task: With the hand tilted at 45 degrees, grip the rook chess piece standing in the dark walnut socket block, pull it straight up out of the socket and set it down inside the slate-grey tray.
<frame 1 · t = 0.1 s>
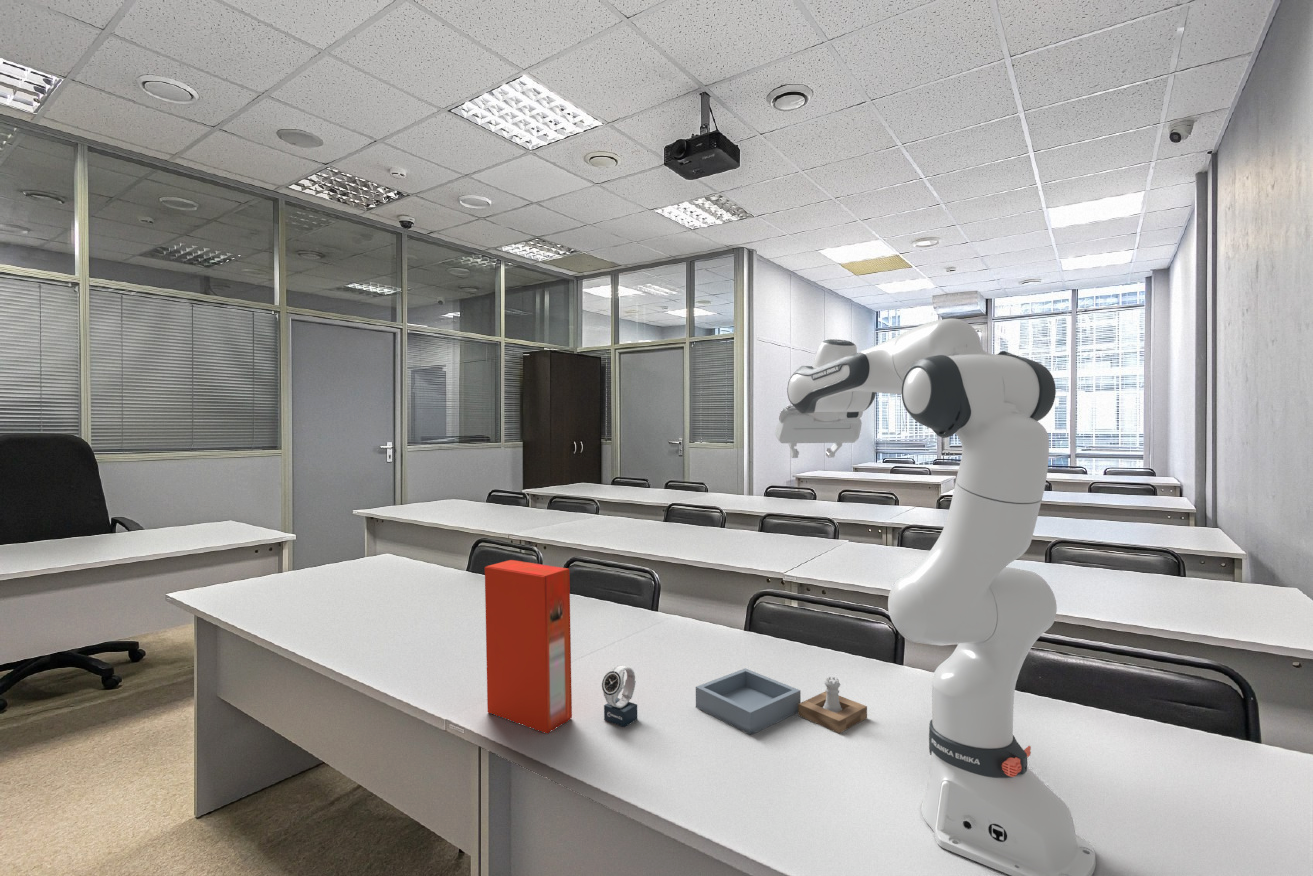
hand: (811, 456, 147), 54 cm above the table, tool tilted 30°, fingers open, 8 cm apart
socket block: (832, 716, 128), on the table
watch: (620, 720, 127), on the table
tray: (747, 709, 132), on the table
file binder: (528, 717, 129), on the table
rook chess piece: (832, 717, 128), resting in socket block
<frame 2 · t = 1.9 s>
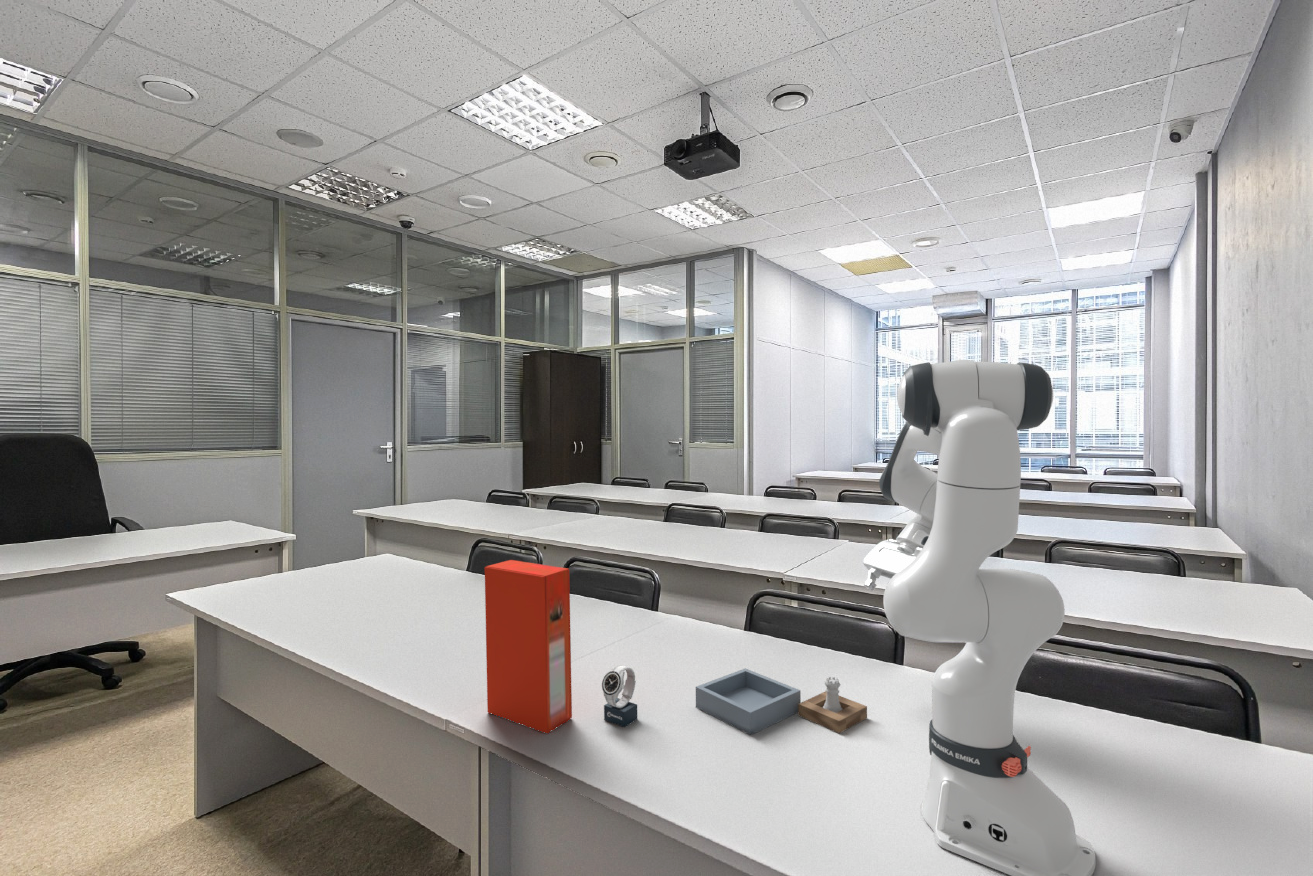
hand: (881, 593, 131), 25 cm above the table, tool tilted 45°, fingers open, 8 cm apart
nothing on the table moved.
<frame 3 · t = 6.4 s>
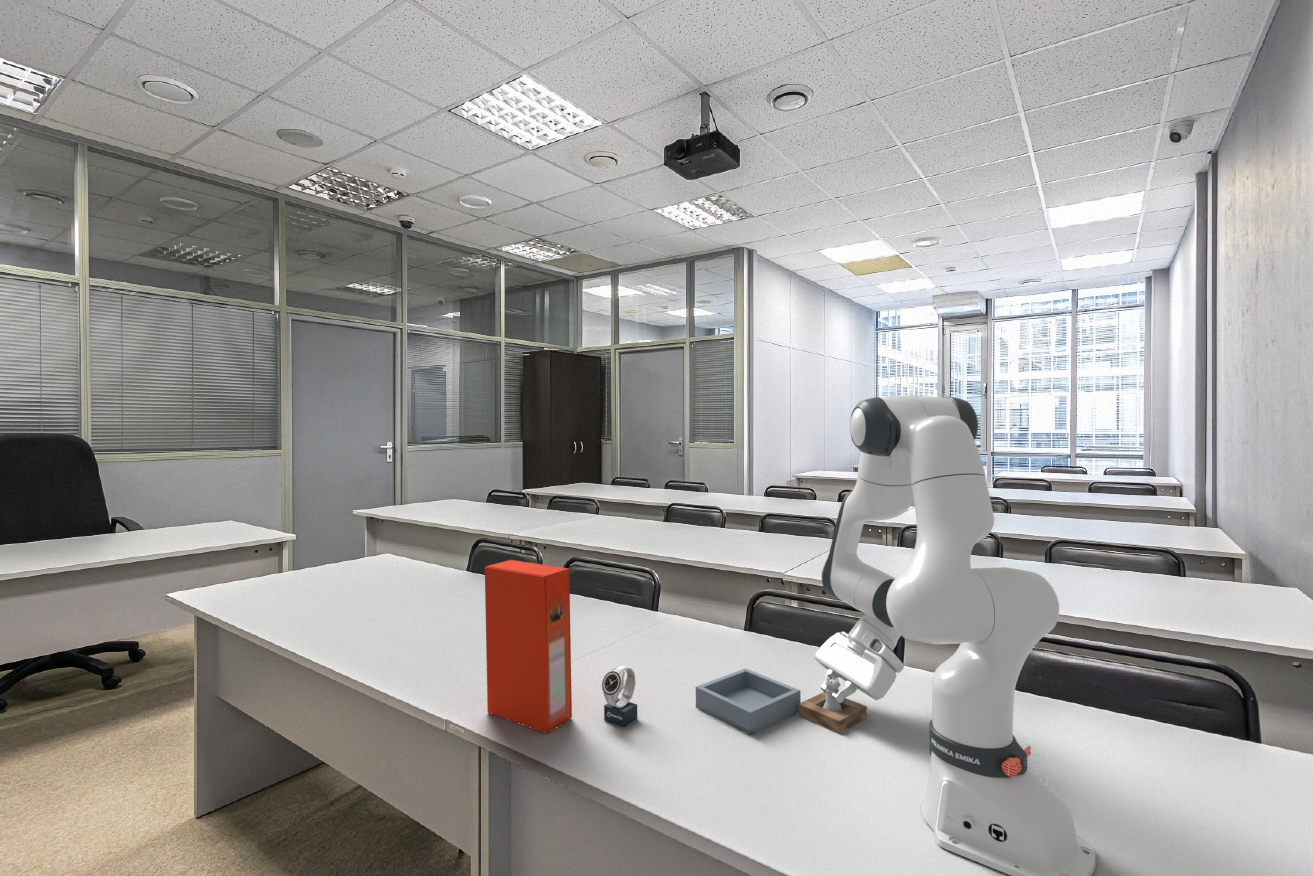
hand: (829, 695, 127), 5 cm above the table, tool tilted 45°, fingers closed on rook chess piece, 3 cm apart
rook chess piece: (832, 717, 128), resting in socket block, touching gripper
everything else where it was.
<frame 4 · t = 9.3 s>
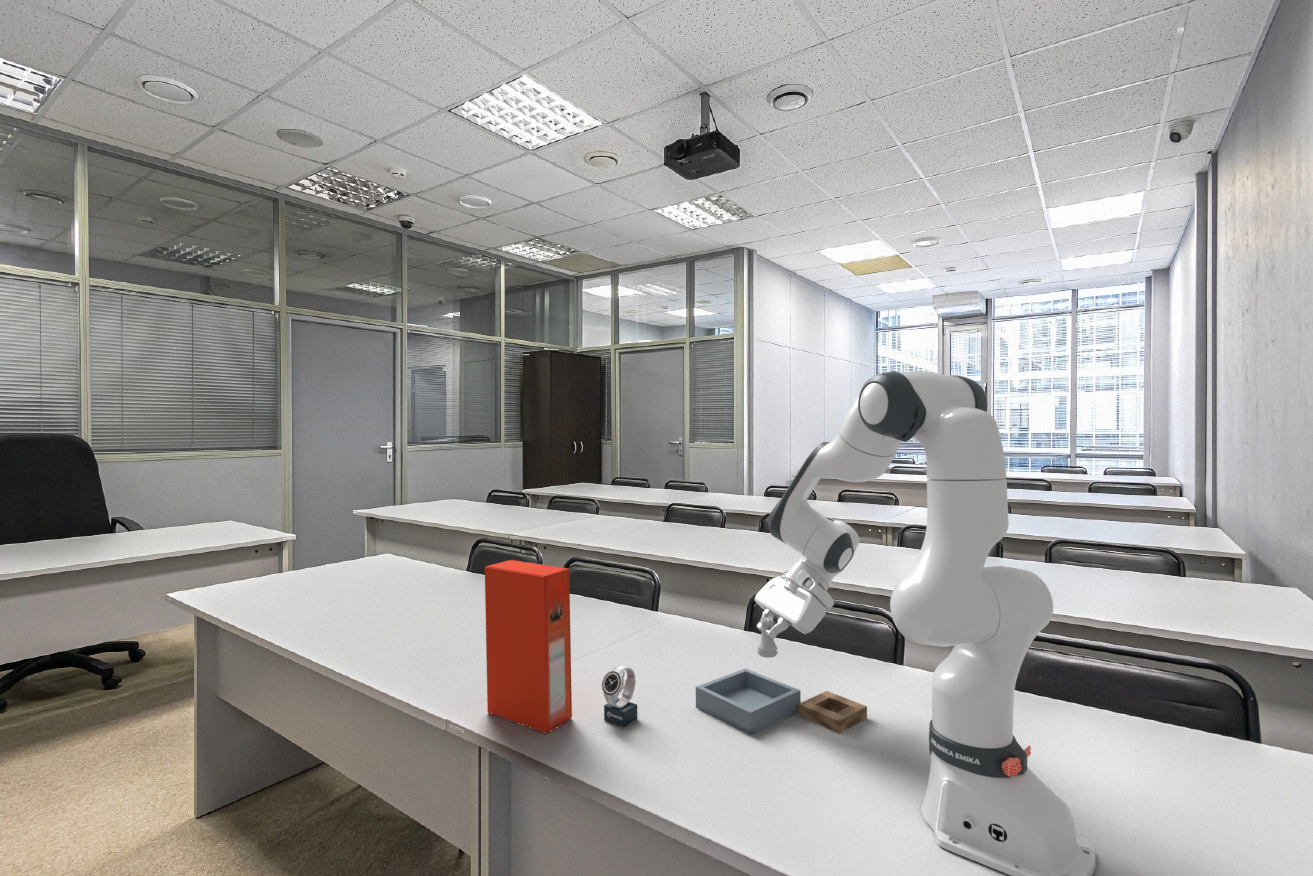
hand: (764, 633, 131), 17 cm above the table, tool tilted 45°, fingers closed on rook chess piece, 3 cm apart
rook chess piece: (767, 655, 131), point 12 cm above the table, touching gripper
everything else where it was.
when the fingers open (7 cm above the table, at t = 11.7 s): rook chess piece moves 3 cm, resting on tray.
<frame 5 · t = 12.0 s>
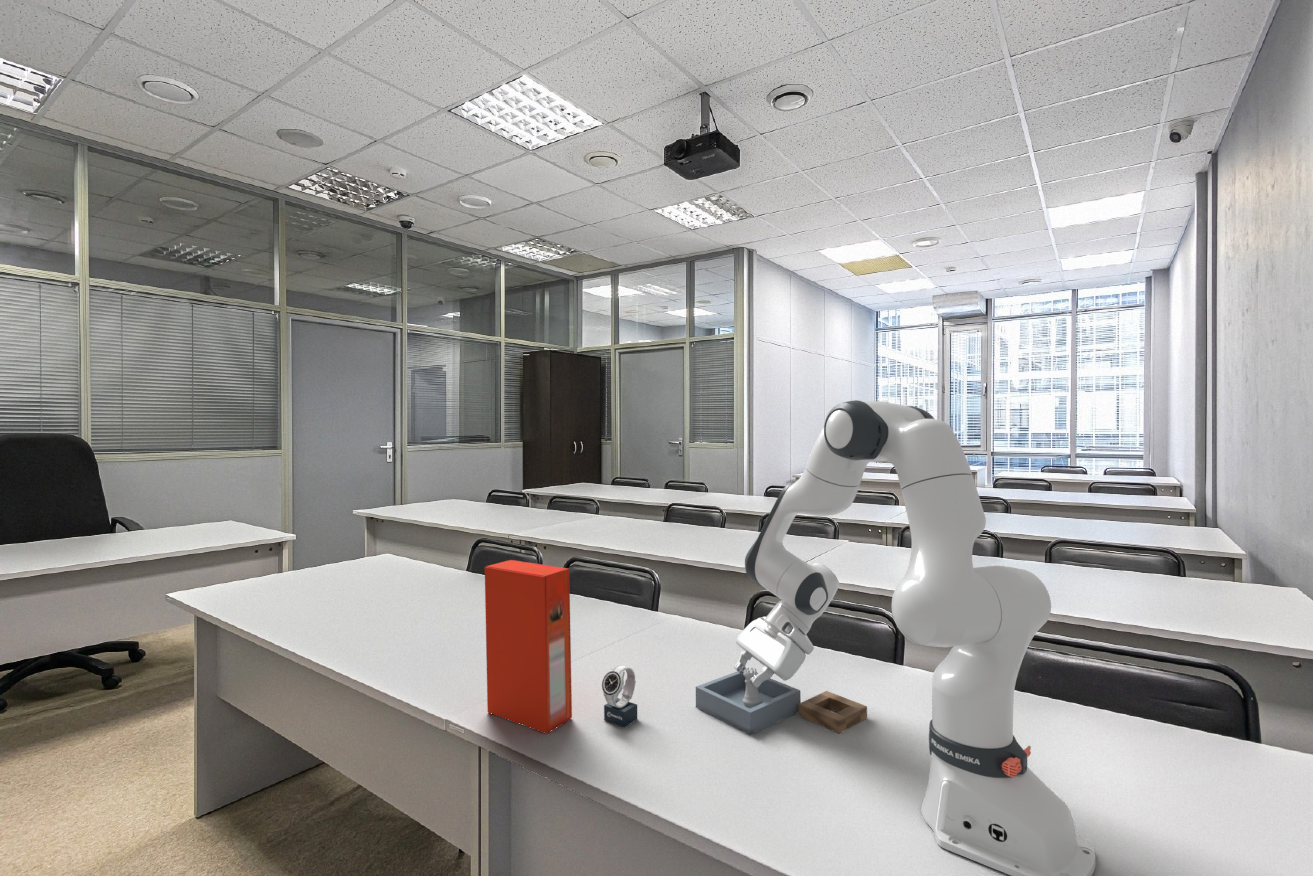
hand: (745, 677, 131), 7 cm above the table, tool tilted 45°, fingers open, 6 cm apart
rook chess piece: (753, 709, 129), point 1 cm above the table, touching gripper, tray
everything else where it was.
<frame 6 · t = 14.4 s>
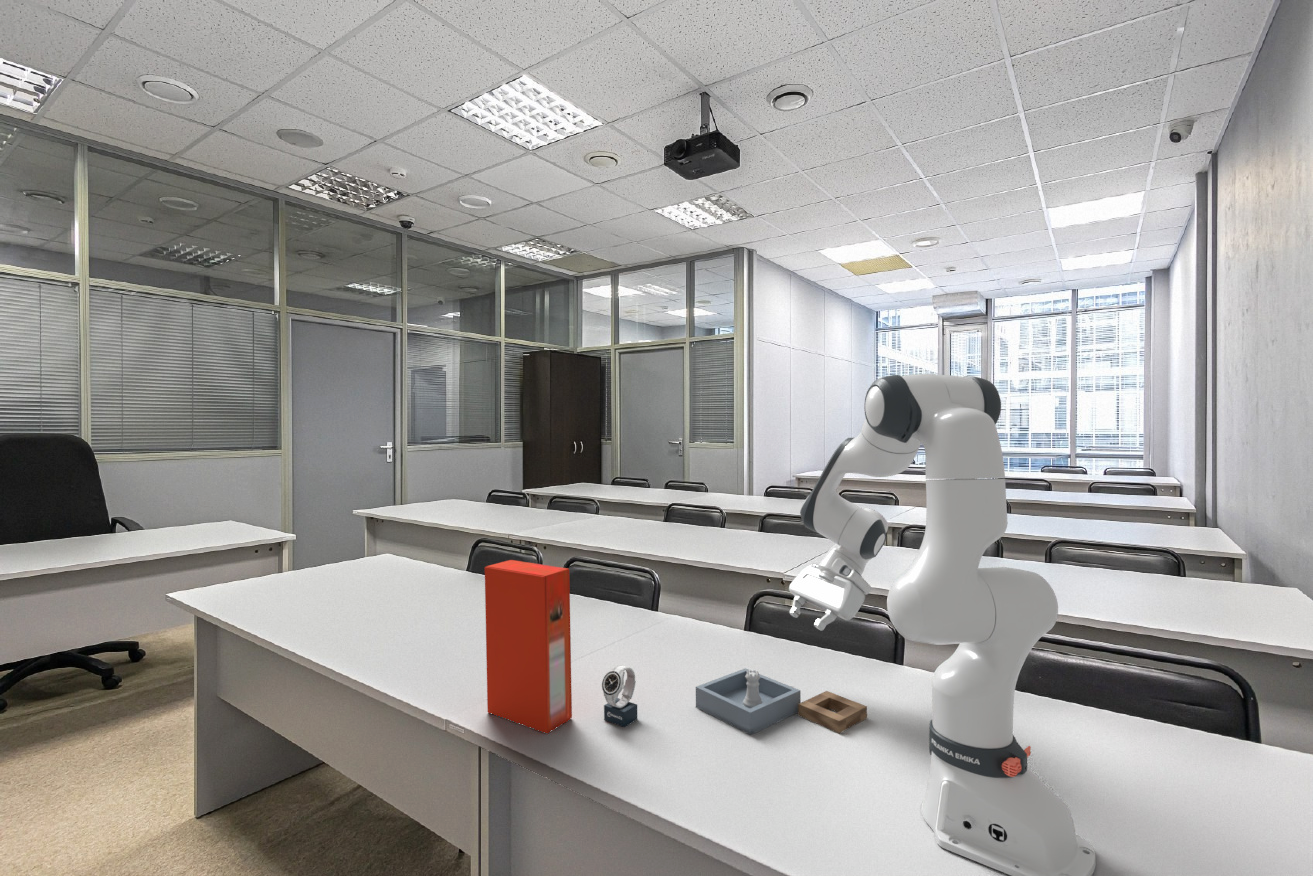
hand: (804, 621, 135), 18 cm above the table, tool tilted 40°, fingers open, 8 cm apart
rook chess piece: (753, 710, 129), point 1 cm above the table, touching tray
everything else where it was.
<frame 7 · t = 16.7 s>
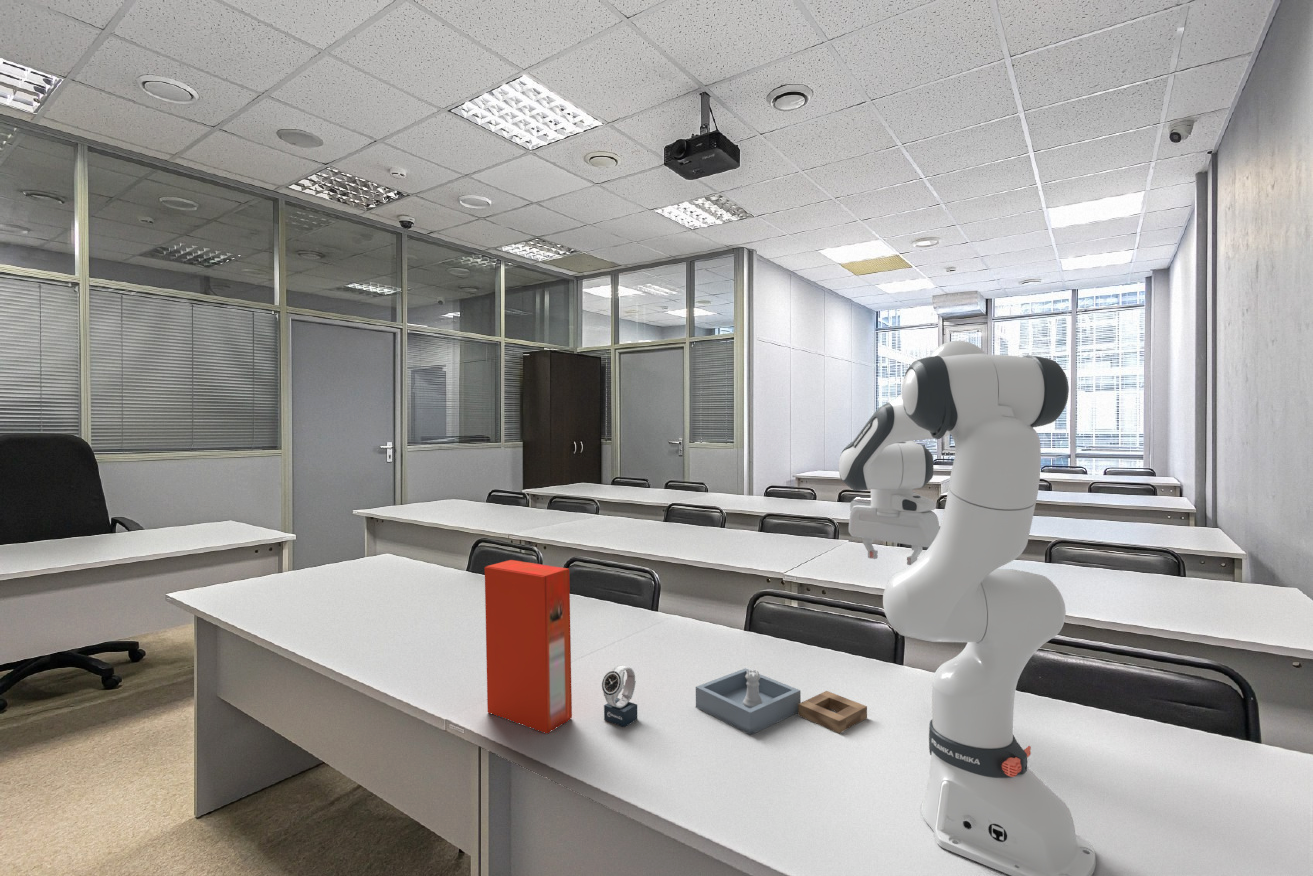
hand: (891, 561, 135), 31 cm above the table, tool pointing down, fingers open, 8 cm apart
nothing on the table moved.
at the end: rook chess piece inside the target area on the tray (2.5 cm from its centre), point 0.8 cm above the tray's base; the gripper is holding nothing; rook chess piece moved 16.7 cm from its start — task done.
